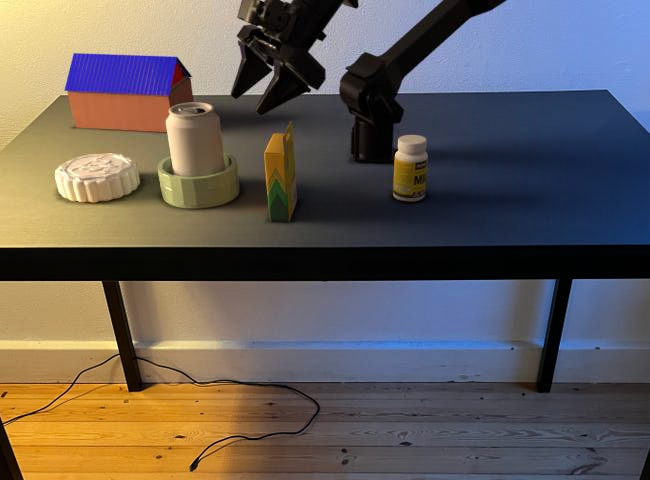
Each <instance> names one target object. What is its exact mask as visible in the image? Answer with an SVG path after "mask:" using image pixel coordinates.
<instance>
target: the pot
mask: <svg viewBox="0 0 650 480" xmlns="http://www.w3.org/2000/svg"><path fill="white" fill-rule="evenodd" d="M223 155H224V164H225V170H224V171H222V172H219V173H216V174H212V175H208V176H200V177H182V176H176V175H174V172H173V165H172V159H171V155H168V156H166V157H165V158H163V159H161V160H160V161H159V163H158V164H157V175H158V180H159V186H160V191H161V196H162V200H164V202H166V203H167V204H169V205H170V206H173V207H176V208H180V209H181V208H182V209H190V210H191V209H192V210H193V209H195V210H197V209H208V208H214V207H218V206H221V205H224V204H226V203H229V202H232V201H233V200H234V199H236V198H237V197H238V195H239V194H240V187H241V186H240V179H239V178H240V177H239V167H238V161H237V158H236V156H233V155H232V154H230V153H228V152H225V151H223Z"/></svg>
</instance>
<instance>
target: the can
mask: <svg viewBox="0 0 650 480" xmlns="http://www.w3.org/2000/svg"><path fill="white" fill-rule="evenodd" d="M214 110H215V107H214V106H213V105H212V104H210V103H207V102H199V101H194V102H189V103H182V104H178V105H175V106H173V107H171V108H170V109H169V113H170V115H169V117H168V118H167V119H166V127H167V132H166V133H167V139H168V145H169V146H168V147H169V152H170V156H171V159H172V165H173V172H174V175H176V176H182V177H200V176H208V175H212V174H216V173H219V172H222V171H224V170H225V164H224V155H223V152H224V147H223V138H222V129H221V120H220V116H219V115H218V114H217V113H215V112H214Z"/></svg>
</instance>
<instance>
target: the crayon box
mask: <svg viewBox="0 0 650 480" xmlns="http://www.w3.org/2000/svg"><path fill="white" fill-rule="evenodd" d="M263 156H264V168H265V180H266V193H267V204H268V206H267V207H268V215H269V221H270V222H291V218H292V216H293V213H294V210H295V208H296V204H297V201H298V196H297V195H298V194H297V178H296V177H297V176H296V162H295V159H296V158H295V145H294V130H293V121H292V120H290V121H289V123H288V125H287V127H286V129H285V131H284V133H273V134H272V136H271V138H270V140H269V142H268V144H267V147H266V149H265V151H264V154H263Z"/></svg>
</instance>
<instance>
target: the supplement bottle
mask: <svg viewBox="0 0 650 480" xmlns="http://www.w3.org/2000/svg"><path fill="white" fill-rule="evenodd" d="M427 143H428V141H427V138H426V137H425V136H423V135H418V134H405V135H402V136H400V137H398V140H397V151H396V152H395V154H394V161H393V163H394V165H393V166H394V167H393V184H392V195H393V197H394V198H395V199H396V200H399V201H402V202H409V203H411V202H417V201H418V202H419V201H420V200H423V199H424V198H425V196H426V186H427V175H428V174H427V173H428V161H429V155H428V152H427V151H426V150H427V146H428V145H427Z"/></svg>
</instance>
